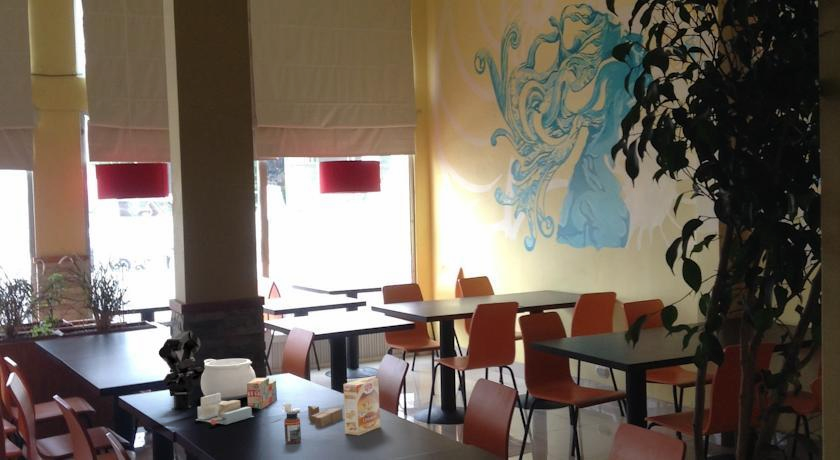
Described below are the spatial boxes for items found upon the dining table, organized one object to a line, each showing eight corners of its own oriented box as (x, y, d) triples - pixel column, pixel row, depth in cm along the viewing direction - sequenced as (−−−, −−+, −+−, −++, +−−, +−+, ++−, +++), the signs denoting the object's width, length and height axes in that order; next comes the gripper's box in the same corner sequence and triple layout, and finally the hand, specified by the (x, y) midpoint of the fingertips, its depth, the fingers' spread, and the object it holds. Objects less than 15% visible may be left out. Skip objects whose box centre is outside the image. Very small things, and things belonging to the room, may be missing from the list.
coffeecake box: (359, 435, 330) (356, 385, 330) (344, 433, 334) (342, 384, 334) (381, 426, 343) (379, 378, 343) (366, 425, 347) (364, 377, 347)
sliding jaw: (197, 418, 366) (196, 398, 366) (222, 411, 378) (222, 392, 378) (204, 419, 364) (203, 399, 364) (229, 412, 375) (228, 392, 375)
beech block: (218, 420, 363) (217, 404, 362) (234, 416, 370) (233, 399, 370) (224, 421, 360) (224, 404, 360) (240, 416, 368) (240, 400, 368)
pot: (269, 392, 424) (268, 358, 423) (231, 403, 401) (229, 366, 401) (227, 388, 439) (225, 355, 439) (187, 399, 417) (186, 363, 417)
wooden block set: (343, 405, 362) (321, 415, 346) (344, 418, 362) (321, 429, 346) (309, 403, 369) (285, 412, 353) (309, 416, 369) (286, 426, 353)
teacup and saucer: (302, 411, 379) (302, 402, 379) (292, 416, 372) (292, 406, 372) (285, 410, 383) (285, 401, 382) (275, 414, 375) (275, 405, 375)
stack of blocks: (264, 399, 407) (263, 374, 407) (277, 399, 406) (276, 373, 406) (247, 410, 386) (246, 382, 386) (260, 410, 385) (259, 382, 385)
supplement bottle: (285, 440, 328) (284, 411, 327) (301, 439, 328) (300, 410, 328) (284, 444, 322) (283, 414, 322) (300, 443, 322) (299, 413, 322)
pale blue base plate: (184, 425, 361) (183, 413, 361) (224, 414, 379) (223, 403, 379) (214, 430, 350) (214, 417, 350) (254, 418, 368) (253, 406, 368)
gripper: (165, 355, 373) (183, 383, 367) (199, 349, 388) (217, 375, 382) (155, 372, 378) (172, 399, 372) (189, 365, 393) (206, 391, 387)
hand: (192, 390), depth 378 cm, fingers closed
